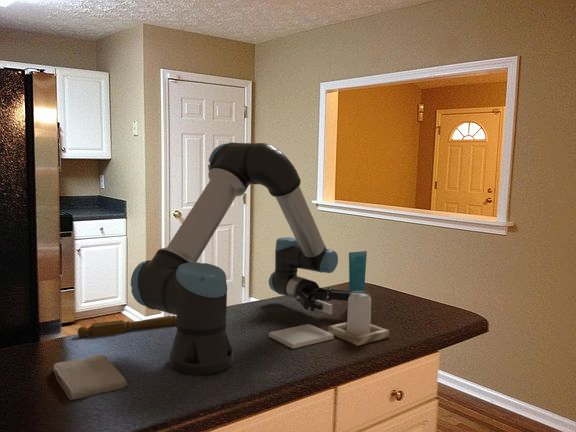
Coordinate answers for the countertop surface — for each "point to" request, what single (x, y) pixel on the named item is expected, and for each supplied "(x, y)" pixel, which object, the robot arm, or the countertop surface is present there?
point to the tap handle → (124, 326)
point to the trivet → (301, 336)
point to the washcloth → (88, 376)
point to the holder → (374, 335)
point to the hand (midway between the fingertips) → (349, 306)
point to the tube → (357, 270)
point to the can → (359, 313)
